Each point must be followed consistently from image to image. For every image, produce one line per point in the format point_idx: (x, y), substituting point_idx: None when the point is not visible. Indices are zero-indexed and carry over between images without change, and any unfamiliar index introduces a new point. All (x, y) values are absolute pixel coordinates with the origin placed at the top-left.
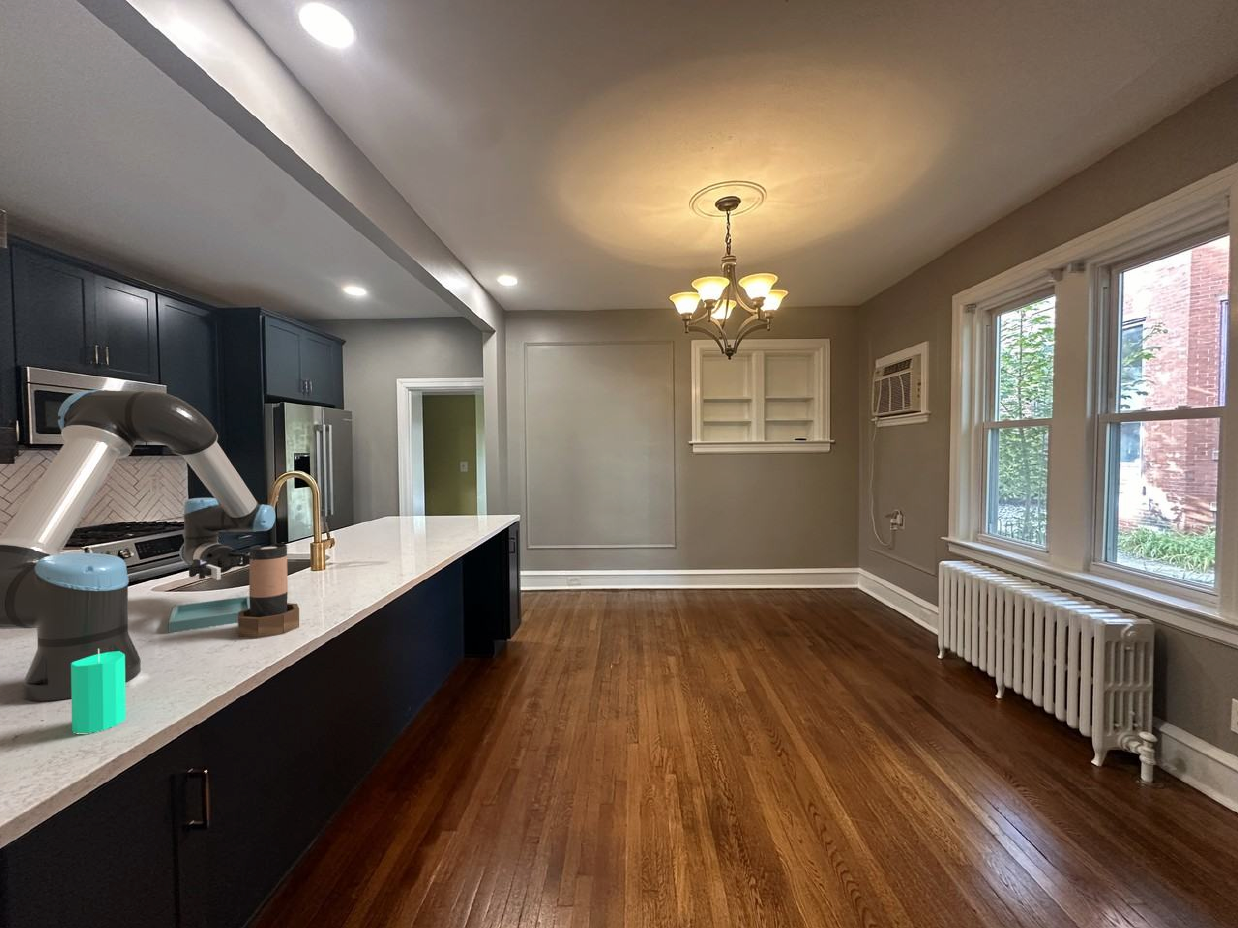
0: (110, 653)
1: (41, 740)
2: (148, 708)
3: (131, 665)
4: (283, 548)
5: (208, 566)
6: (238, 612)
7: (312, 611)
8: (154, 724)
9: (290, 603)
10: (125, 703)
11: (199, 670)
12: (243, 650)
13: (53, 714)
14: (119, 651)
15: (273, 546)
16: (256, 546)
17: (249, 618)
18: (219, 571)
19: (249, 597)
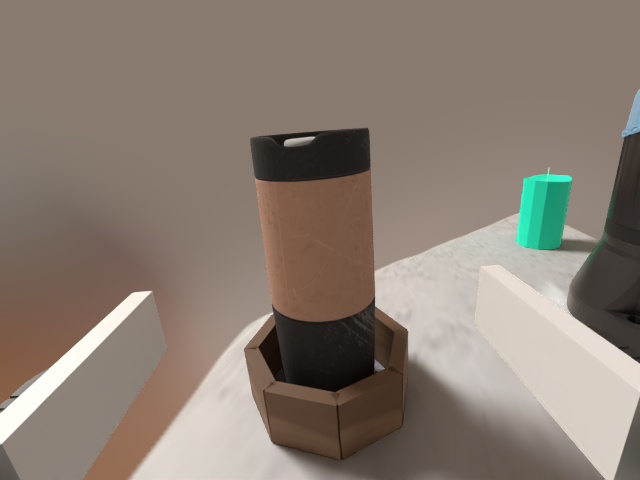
0: (544, 182)
1: (579, 241)
2: (502, 247)
3: (573, 278)
4: (284, 140)
5: (608, 349)
6: (401, 370)
7: (142, 466)
8: (486, 232)
9: (250, 362)
10: (520, 230)
11: (469, 284)
12: (407, 310)
13: None
14: (535, 180)
15: (270, 148)
16: (333, 134)
17: (385, 314)
18: (483, 283)
19: (374, 301)
